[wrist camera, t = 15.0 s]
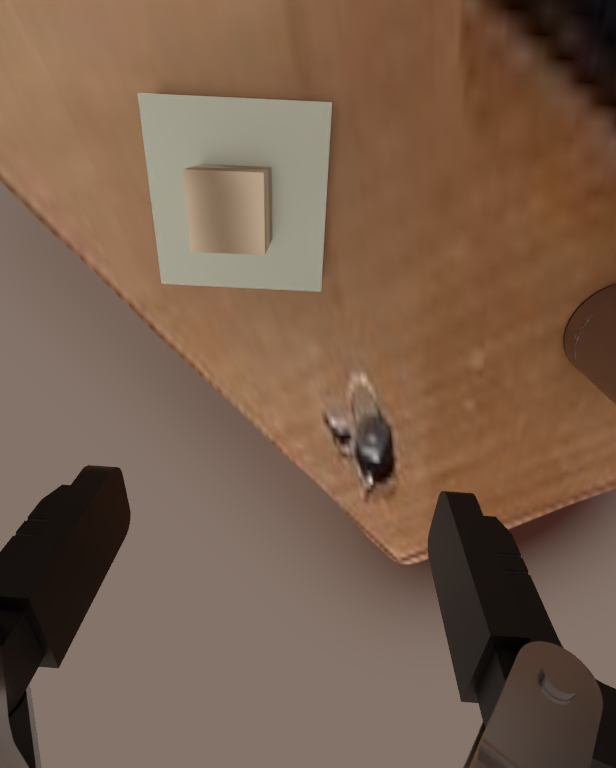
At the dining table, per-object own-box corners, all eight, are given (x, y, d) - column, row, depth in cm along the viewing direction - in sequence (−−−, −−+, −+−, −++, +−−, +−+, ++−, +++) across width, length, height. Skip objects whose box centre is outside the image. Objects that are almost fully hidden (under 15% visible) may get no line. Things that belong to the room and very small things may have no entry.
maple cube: (272, 166, 31) (263, 172, 27) (272, 239, 34) (265, 255, 30) (202, 164, 31) (182, 169, 27) (207, 236, 34) (190, 251, 30)
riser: (331, 105, 33) (332, 102, 29) (321, 277, 39) (321, 291, 36) (157, 96, 33) (137, 92, 29) (175, 270, 39) (161, 283, 36)
